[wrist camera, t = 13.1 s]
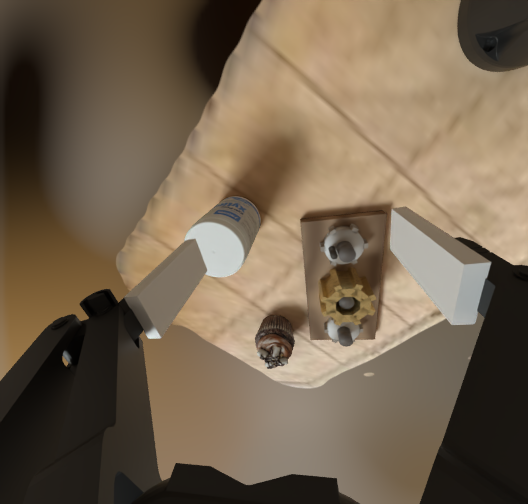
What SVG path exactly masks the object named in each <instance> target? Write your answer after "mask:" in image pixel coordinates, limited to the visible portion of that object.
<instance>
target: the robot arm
mask: <svg viewBox="0 0 528 504" xmlns="http://www.w3.org/2000/svg"><path fill="white" fill-rule="evenodd" d="M458 37H459V42H460V45H461V48H462V50H463V52H464V54H465V56H466V57H467V58H468V59H469V61H470V62H472V63H473V64H474V65H475V66H477V67H479V68H481V69H483V70H487V71H493V72H504V71H510V70H515V69H518V68H521V67H524V66H527V65H528V0H461V3H460V7H459V13H458ZM390 250H391V251H392V252H393V253H394V255H395V256H396V257H397V258H398V260H399V261H400V262H401V263H402V265H403V266H404V267H405V268H406V269H407V271H408V272H409V273H410V274H411V276H412V277H413V278H414V279H415V280H416V282H417V283H418V284H419V285H420V287H421V288H422V289H423V290H424V292H425V293H426V294H427V295H428V296H429V298H430V299H431V300H432V301H433V303H434V304H435V305H436V306H437V308H438V309H439V310H440V311H441V312H442V314H443V315H444V316H445V317H446V319H447V320H448V321H449V322H450V323H451V325H462V324H475V321H476V317H477V313H478V312H479V313H480V314H481V315H482V316H484V318H485V319H484V322H483V325H482V327H481V330H480V333H479V336H478V339H477V342H476V345H475V348H474V351H473V354H472V357H471V360H470V362H469V366H468V368H467V371H466V374H465V377H464V380H463V383H462V386H461V389H460V392H459V395H458V398H457V400H456V404H455V406H454V409H453V412H452V415H451V418H450V421H449V424H448V427H447V430H446V433H445V436H444V438H443V441H442V444H441V446H440V448H439V450H438V453H437V456H436V459H435V461H434V464H433V467H432V470H431V472H430V475H429V478H428V481H427V484H426V487H425V491H424V493H423V496H422V499H421V501H420V504H528V266H525V265H512V264H510V263H509V262H507V261H505V260H504V259H502V258H500V257H499V256H497V255H495V254H494V253H492V252H490V251H489V250H487V249H485V248H482V246H480V245H479V244H477V243H475V242H474V241H471V240H468V239H464V238H461V237H458V238H453V237H452V236H450V235H449V234H447V233H446V232H444V231H443V230H441V229H439V228H438V227H436V226H435V225H433V224H432V223H430V222H429V221H427V220H426V219H424V218H423V217H421V216H419V215H418V214H416V213H415V212H413V211H412V210H410V209H409V208H407V207H400V208H393V209H392V213H391V238H390ZM206 272H207V268H206V265H205V262H204V260H203V257H202V254H201V252H200V249H199V246H198V244H197V241H196V239H190V240H186V241H185V242H184V243H182V244H181V245H180V246H179V247H178V248H177V249H176V250H175V251H174V252H173V253H172V254H170V255H169V256H168V257H167V258H166V259H165V260H164V261H163V262H162V263H161V264H160V265H158V266H157V267H156V268H155V269H154V270H153V271H152V272H151V273H150V274H149V275H148V276H146V277H145V278H144V279H143V280H142V281H141V282H140V283H139V284H138V285H137V286H136V287H134V288H133V289H132V290H131V291H130V292H129V293H128V294H127V295H126V296H125V297H124V298H123V299H122V300H121V301H120V302H119V303H118V301H117V300H116V298H115V297H114V295H113V294H112V292H111V290H110V289H104V290H100V291H98V292H95V293H93V294H91V295H89V296H88V297H86V298H85V299H84V300H83V301H81V303H80V306H81V307H82V309H83V310H84V311H85V313H86V314H87V315H88V317H89V319H87V320H84V321H79V319H78V318H77V316H76V315H73V314H71V315H67V316H65V317H61V318H59V319H57V320H55V321H54V322H53V323H52V324H50V325H49V326H48V327H47V328H45V330H44V331H43V332H42V333H41V334H40V335H39V336H38V338H37V339H36V340H35V341H34V342H33V343H32V345H31V346H30V347H29V348H28V349H27V351H26V352H25V353H24V354H23V355H22V356H21V357H20V359H19V360H18V361H17V362H16V363H15V364H14V366H13V367H12V368H11V369H10V370H9V371H8V373H7V374H6V375H5V376H4V377H3V379H2V380H1V381H0V504H359V503H358V502H356V501H355V500H353V499H352V498H350V497H348V496H346V495H344V494H341V493H340V492H339V491H338V485H337V478H327V477H317V476H306V475H296V474H291V475H287V476H283V477H280V478H276V479H272V480H269V481H265V482H261V483H257V484H253V485H245V484H243V483H241V482H239V481H237V480H235V479H233V478H231V477H229V476H228V475H226V474H224V473H222V472H220V471H218V470H216V469H214V468H212V467H211V466H200V465H191V464H180V463H176V464H175V467H174V469H173V472H172V475H171V477H170V478H168V479H166V480H164V481H162V480H161V478H160V475H159V471H158V466H157V458H156V449H155V441H154V432H153V424H152V417H151V408H150V401H149V392H148V384H147V375H146V368H145V359H144V351H143V342H142V340H141V338H140V337H139V335H140V334H141V333H142V332H143V330H144V332H145V333H146V335H147V337H148V338H149V339H150V338H151V339H152V338H162V336H163V335H164V333H165V332H166V330H167V329H168V328H169V326H170V325H171V323H172V322H173V320H174V319H175V317H176V316H177V314H178V313H179V311H180V310H181V308H182V307H183V306H184V304H185V303H186V301H187V300H188V298H189V297H190V295H191V294H192V292H193V291H194V289H195V288H196V287H197V285H198V284H199V282H200V281H201V279H202V278H203V276H204V275H205V273H206ZM62 356H63V357H64V358H65V359H66V360H67V361H68V365H67V367H66V366H65V365H64V363H63V361H62Z"/></svg>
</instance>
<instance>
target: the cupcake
mask: <svg viewBox="0 0 528 504" xmlns="http://www.w3.org/2000/svg"><path fill="white" fill-rule="evenodd" d="M255 342H256V347H257V350H258V352H257V355H258V356H260V359H262V360H264V361H265V366H266V367H267V369H272V368H275V367H277V366H284V365H286V364H288V359H289V357H290V356H291V354H292V350H293V347H294V344H295V343H294V342H295V340H294V336H293V332H292V327H291V324H290V323H289V321H288V320H287V319H285V318H284V317H281V316H277V315H275V316H268V317H267V318H265V319H264V320H263V322H262V323H261V326H260V328H259V330H258V332H257V334H256V337H255Z"/></svg>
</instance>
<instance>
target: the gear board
mask: <svg viewBox="0 0 528 504" xmlns="http://www.w3.org/2000/svg"><path fill="white" fill-rule="evenodd" d="M386 216H387V214H386V213H385V212H384V211H374V212H364V213H355V214H345V215H336V216H326V217H317V218H307V219H300V221H301V233H302V245H303V257H304V268H305V280H306V292H307V304H308V316H309V327H310V339H311V340H332V342H335V343H337V341H339V343H340V344H341V345H342V346H350V345H352V344H353V342H355V340H368V339H375V333H376V323H377V312H378V301H379V291H380V280H381V269H382V259H383V248H384V237H385V227H386ZM349 267H352V268H355V269H356V271H357V274H358V276H359V277H360V278H361V277H364V276H365V277H366V279H367V281H368V283H369V285H370V287H371V289H372V291H373V293H374V295H375V297H376V300H373V301H371V302H372V304H373V307H374V309H375V313H374V314H373V316H372V315H368V314H367V315H366V316H364V317H363V318H361V319H360V322H361V324H358V325H355V324H354V323H353V322H342V324H341V325H340V326H339V325H336V324H334V319H333V318H332V317H331V316H329V315H328V316H325V317H324V316H323V314H322V313H321V307H320V300H319V286H318V282H319V280H320V279H323V280H325V279H326V278H327V277H329V276H330V275H331V274H330V270H331V269H333V268H335V269H336V271H337V272H339V271H348V269H349ZM339 305H340V307H342V308H344V309H349V308H352V307H353V306H354V299H353V297H343V298H341V299H340V300H339Z"/></svg>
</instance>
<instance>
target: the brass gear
mask: <svg viewBox="0 0 528 504" xmlns="http://www.w3.org/2000/svg"><path fill="white" fill-rule="evenodd" d="M330 274H331V275H330V276H329V277H327V278H326V279H325V280H323V279H320V280H319V282H318V286H319V300H320V307H321V313H322V314H323V316H324V317H325V316H328V315H329V316H331V317H332V318H333V319H334V324H336V325H339V326H340V325H341V324H342V322H353V323H354V324H355V325H358V324H361V322H360V319H361V318H363V317H364V316H366V315H367V314H368V315H372V316H373V314H374V313H375V309H374V307H373V304H372V302H371V301H373V300H376V297H375V295H374V293H373V291H372V289H371V287H370V285H369V283H368V281H367V279H366V277H365V276H364V277H361V278H360V277H359V276H358V274H357V271H356V269H355V268H352V267H349V269H348V271H339V272H337V271H336V269H335V268H333V269H331V270H330ZM343 297H353V299H354V306H353V307H352V308H349V309H344V308H342V307H340V305H339V300H340V299H341V298H343Z"/></svg>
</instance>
